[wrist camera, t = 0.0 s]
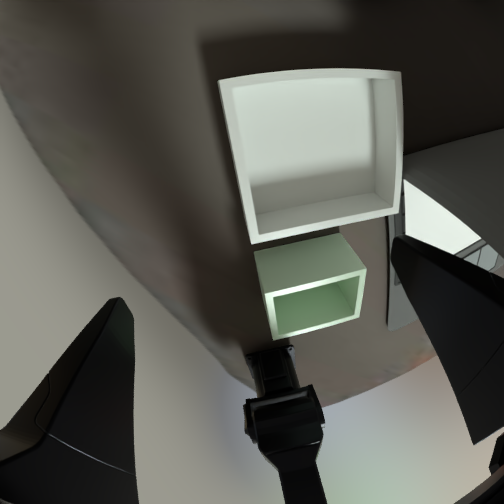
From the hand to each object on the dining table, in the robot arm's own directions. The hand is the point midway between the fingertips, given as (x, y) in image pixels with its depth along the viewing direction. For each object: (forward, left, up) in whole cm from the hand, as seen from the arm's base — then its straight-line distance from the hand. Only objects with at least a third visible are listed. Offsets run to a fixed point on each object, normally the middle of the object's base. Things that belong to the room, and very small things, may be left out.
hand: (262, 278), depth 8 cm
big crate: (0, -7, -16) cm, 17 cm away
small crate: (-13, -5, -16) cm, 21 cm away
